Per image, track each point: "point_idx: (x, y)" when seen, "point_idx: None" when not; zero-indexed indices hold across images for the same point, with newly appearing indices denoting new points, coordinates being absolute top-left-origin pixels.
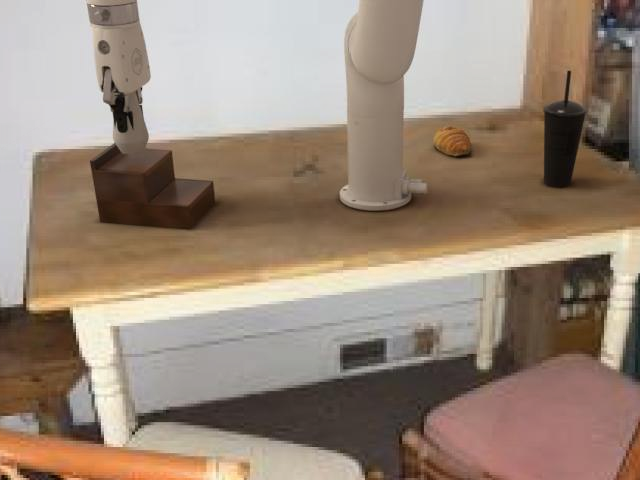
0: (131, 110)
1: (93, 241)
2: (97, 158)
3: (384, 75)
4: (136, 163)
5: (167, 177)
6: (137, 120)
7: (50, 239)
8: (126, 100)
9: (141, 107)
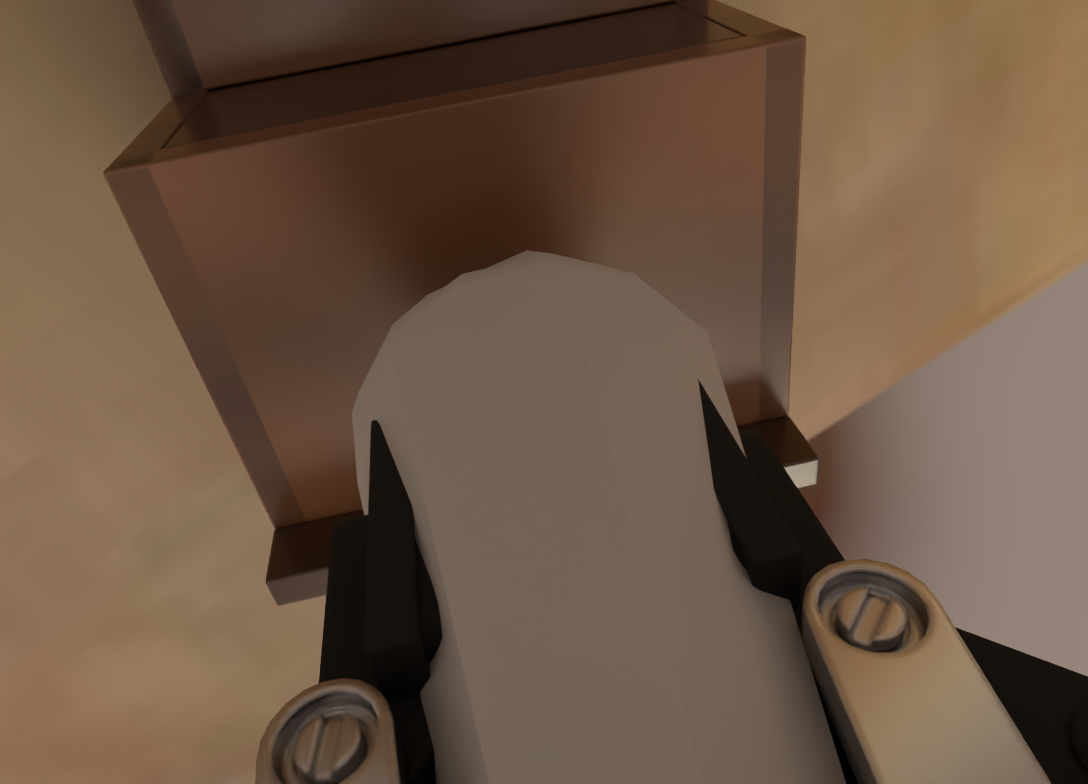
0: (741, 588)
1: (897, 159)
2: None
3: None
4: (575, 252)
5: (309, 82)
6: (658, 437)
7: (890, 344)
8: (970, 748)
9: (398, 616)
